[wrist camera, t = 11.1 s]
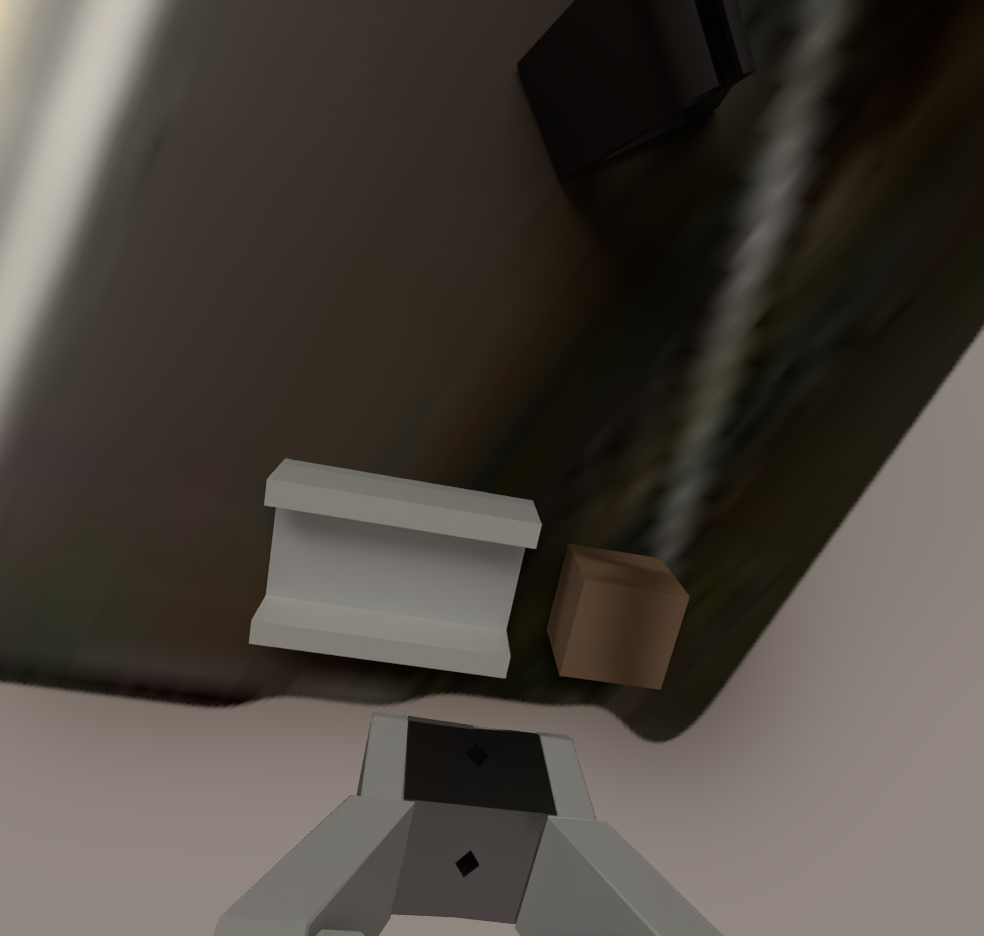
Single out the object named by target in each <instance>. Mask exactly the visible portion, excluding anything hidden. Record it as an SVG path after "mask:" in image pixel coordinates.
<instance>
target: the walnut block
mask: <svg viewBox="0 0 984 936" xmlns="http://www.w3.org/2000/svg"><path fill="white" fill-rule="evenodd" d="M688 600H689V595H688V594H687V593H686V591H685V590H684V589H683V587H682V586H681V585H680V583H679V582H678V581H677V579H676V578H675V577H674V575H673V574H672V573H671V571H670V570H669V569H668V567H667V566H666V565H665V563H664V562H663V561H662V559H660V558H654V557H648V556H642V555H636V554H629V553H623V552H617V551H611V550H605V549H599V548H593V547H586V546H580V545H574V544H568V546H567V550H566V554H565V558H564V562H563V566H562V570H561V574H560V578H559V582H558V586H557V590H556V594H555V598H554V602H553V606H552V610H551V614H550V618H549V622H548V626H547V632H548V636H549V639H550V643H551V646H552V650H553V654H554V657H555V661H556V664H557V668H558V672H559V675H560V676H566V677H573V678H580V679H587V680H595V681H602V682H609V683H616V684H624V685H631V686H638V687H645V688H652V689H660V690H661V687H662V683H663V680H664V677H665V674H666V670H667V667H668V664H669V661H670V658H671V654H672V651H673V648H674V645H675V642H676V638H677V635H678V632H679V629H680V626H681V622H682V619H683V616H684V613H685V610H686V606H687V603H688Z"/></svg>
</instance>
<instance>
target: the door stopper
mask: <svg viewBox="0 0 984 936" xmlns="http://www.w3.org/2000/svg"><path fill="white" fill-rule="evenodd" d="M517 66H518V68H519V71H520V74H521V76H522V79H523V82H524V84H525V87H526V89H527V92H528V95H529V97H530V100H531V103H532V105H533V108H534V111H535V113H536V116H537V119H538V121H539V124H540V127H541V129H542V132H543V135H544V137H545V140H546V143H547V145H548V148H549V151H550V153H551V156H552V159H553V161H554V164H555V167H556V169H557V172H558V175H559V177H560V180H561V181H563V180H565V179H567V178H569V177H571V176H573V175H576V174H578V173H580V172H582V171H584V170H586V169H588V168H590V167H593V166H595V165H597V164H599V163H601V162H603V161H605V160H607V159H610V158H612V157H614V156H616V155H618V154H620V153H622V152H624V151H627V150H629V149H631V148H633V147H635V146H637V145H639V144H641V143H644V142H646V141H648V140H650V139H652V138H654V137H656V136H659V135H661V134H663V133H665V132H667V131H669V130H671V129H673V128H676V127H678V126H680V125H682V124H684V123H686V122H688V121H690V120H693V119H695V118H697V117H699V116H701V115H703V114H705V113H707V112H710V111H712V110H714V109H715V108H717V107H719V105H720V104H721V102H722V101H723V99H724V98H725V96H726V95H727V93H728V92H729V90H730V89H731V87H732V86H734V85H735V84H736V83H738V82H739V81H741V80H742V79H744V78H746V77H747V76H749V75H750V74H752V73H753V72H755V71H756V66H755V63H754V59H753V56H752V52H751V48H750V45H749V41H748V37H747V34H746V30H745V27H744V23H743V19H742V16H741V12H740V9H739V5H738V1H737V0H574V2H573V3H572V4H571V5H570V6H569V7H568V8H567V9H566V10H565V11H564V13H563V14H562V15H561V16H560V17H559V18H558V19H557V20H556V21H555V23H554V24H553V25H552V26H551V27H550V28H549V29H548V30H547V31H546V32H545V34H544V35H543V36H542V37H541V38H540V39H539V40H538V41H537V42H536V44H535V45H534V46H533V47H532V48H531V49H530V50H529V51H528V52H527V53H526V55H525V56H524V57H523V58H522V59H521V60H520V61H519V62H518V63H517Z"/></svg>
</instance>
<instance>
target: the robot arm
mask: <svg viewBox="0 0 984 936" xmlns="http://www.w3.org/2000/svg"><path fill="white" fill-rule="evenodd" d="M391 914H397V915H418V916H439V917H457V918H465V919H474V920H483V921H492V922H501V923H510V924H516V926H515V928H516V930H517V931H518V933H519V935H520V936H723V935H722V934H721V933H720V932H719V931H718V930H717V929H716V928H715V927H714V926H713V925H712V924H711V923H710V922H709V921H708V920H707V919H706V918H705V917H704V916H703V915H702V914H700V912H698V911H697V909H696V908H694V907H693V906H692V905H691V904H690V903H689V902H688V901H687V900H686V899H685V898H684V897H683V896H682V895H681V894H680V893H679V892H678V891H677V890H676V889H675V888H674V887H673V886H672V885H671V884H670V883H669V882H668V881H667V880H666V879H665V878H663V876H662V875H661V874H660V873H659V872H658V871H656V869H654V868H653V867H652V866H651V865H650V864H649V863H648V862H647V861H646V860H645V859H644V858H643V857H642V856H641V855H640V854H639V853H638V852H637V851H636V850H635V849H634V848H633V847H632V846H631V845H630V844H629V843H628V842H627V841H626V840H625V839H624V838H622V836H621V835H619V833H618V832H617V831H616V830H615V829H613V828H612V827H611V826H610V825H609V824H608V823H607V822H604V821H597V819H596V816H595V813H594V809H593V806H592V803H591V799H590V796H589V793H588V790H587V786H586V783H585V780H584V776H583V773H582V770H581V766H580V764H579V760H578V757H577V753H576V750H575V747H574V743H573V740H572V739H571V738H570V737H569V736H568V735H560V734H550V733H539V732H537V733H529V732H520V731H512V730H503V729H495V728H485V727H478V726H473V725H466V724H460V723H453V722H446V721H439V720H432V719H425V718H418V717H412V716H408V718H407V717H406V716H403V715H395V714H388V713H380V712H373V715H372V718H371V723H370V728H369V733H368V739H367V744H366V749H365V754H364V760H363V765H362V770H361V775H360V780H359V785H358V791H357V796H354V795H350V796H349V797H348V798H347V799H346V800H344V801H343V802H342V803H341V804H340V805H339V806H338V807H337V808H336V809H335V810H334V811H333V812H332V813H331V814H330V815H328V816H327V817H326V818H325V819H324V820H323V821H322V822H321V823H320V824H319V825H318V826H317V827H316V828H315V829H314V830H312V831H311V832H310V833H309V834H308V835H307V836H306V837H305V838H304V839H303V840H302V841H301V842H300V843H299V844H298V845H296V847H294V848H293V849H292V850H291V851H290V852H289V853H288V854H287V855H286V856H285V857H284V858H283V859H281V860H280V861H279V862H278V863H277V864H276V865H275V866H274V867H273V868H272V869H271V870H270V871H269V872H268V873H267V874H265V875H264V876H263V877H262V878H261V879H260V880H259V881H258V882H257V883H256V884H255V885H254V886H253V887H252V888H251V889H249V890H248V891H247V892H246V893H245V894H244V895H243V896H242V897H241V898H240V899H239V900H238V901H237V902H236V903H234V904H233V905H232V906H231V907H230V908H229V909H228V910H227V911H226V912H225V913H224V914H223V915H222V916H221V917H220V918H219V921H218V924H217V927H216V930H215V933H214V936H379V934H380V933H381V931H382V930H383V928H384V927H385V925H386V924H387V922H388V921H389V919H390V916H391Z"/></svg>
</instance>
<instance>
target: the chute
mask: <svg viewBox="0 0 984 936" xmlns="http://www.w3.org/2000/svg"><path fill="white" fill-rule="evenodd" d="M264 505H266V506H272V507H276V513H275V521H274V530H273V539H272V547H271V556H270V564H269V573H268V582H267V590H266V596H265V598H264V600H263V601H262V603H261V605H260V606H259V608H258V610H257V612H256V613H255V615H254V617H253V619H252V620H251V630H250V639H249V644H256V645H264V646H271V647H278V648H286V649H293V650H300V651H308V652H315V653H322V654H330V655H337V656H344V657H352V658H359V659H366V660H374V661H381V662H388V663H396V664H403V665H410V666H418V667H425V668H432V669H440V670H447V671H455V672H462V673H469V674H477V675H484V676H491V677H499V678H506V674H507V670H508V665H509V661H510V657H511V656H510V650H509V644H508V638H507V632H506V629H507V625H508V620H509V616H510V612H511V607H512V603H513V599H514V594H515V590H516V586H517V581H518V577H519V573H520V568H521V564H522V560H523V555H524V551H525V547H527V548H533V549H536V547H537V542H538V538H539V534H540V530H541V525H542V524H541V521H540V519H539V516H538V513H537V511H536V508H535V505H534V503H533V501H532V500H526V499H520V498H514V497H508V496H502V495H497V494H491V493H485V492H479V491H473V490H467V489H461V488H455V487H449V486H444V485H438V484H432V483H426V482H420V481H414V480H408V479H402V478H396V477H391V476H385V475H379V474H373V473H367V472H361V471H355V470H349V469H344V468H338V467H332V466H326V465H320V464H314V463H308V462H302V461H296V460H291V459H285V460H284V461H283V462H282V463H281V464H280V465H279V466H278V467H277V469H276V470H275V471H274V472H273V473H272V474H271V475H270V476H269V477H268V479H267V485H266V494H265V503H264Z"/></svg>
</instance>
